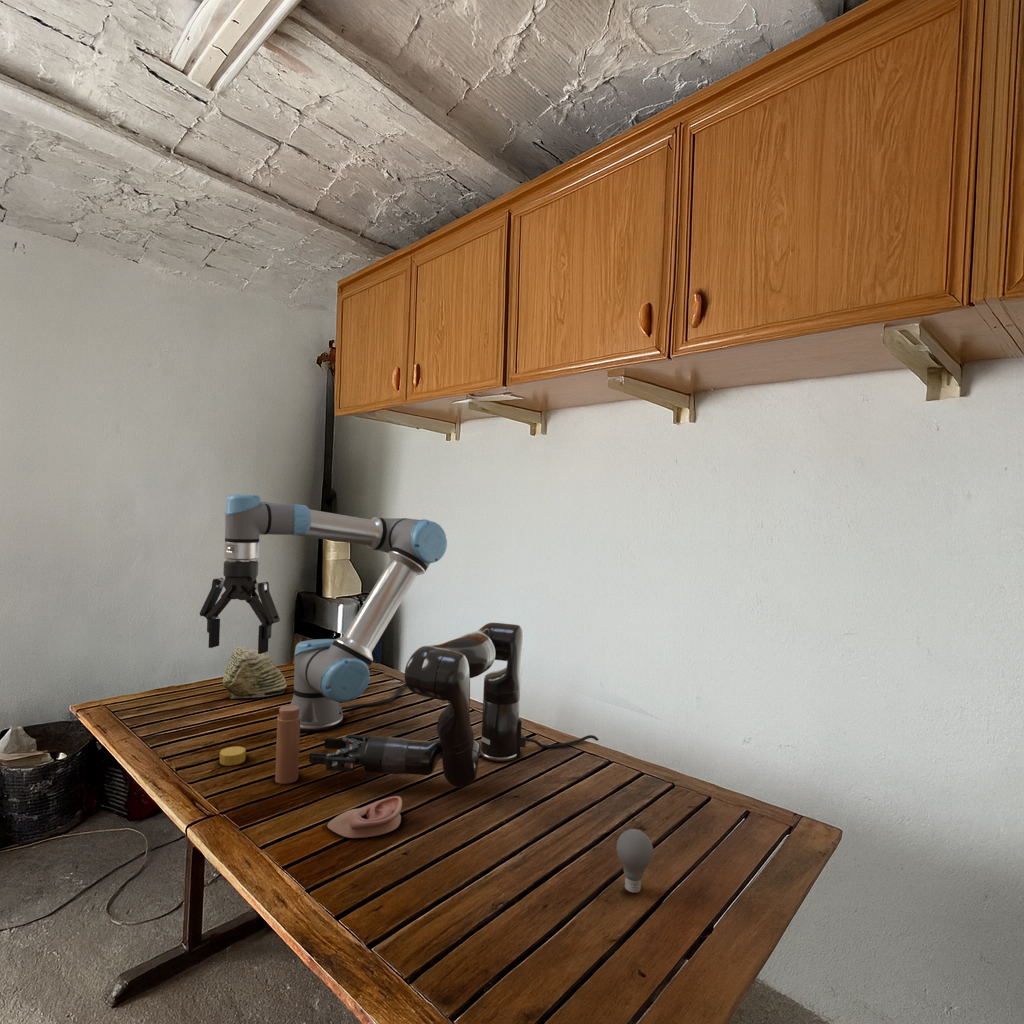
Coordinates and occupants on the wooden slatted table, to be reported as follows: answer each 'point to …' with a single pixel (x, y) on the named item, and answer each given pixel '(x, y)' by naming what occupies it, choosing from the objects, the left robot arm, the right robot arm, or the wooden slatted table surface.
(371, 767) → the right robot arm
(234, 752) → the lid
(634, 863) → the light bulb
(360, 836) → the anatomical model
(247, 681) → the fossil
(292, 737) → the jar
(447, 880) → the wooden slatted table surface
